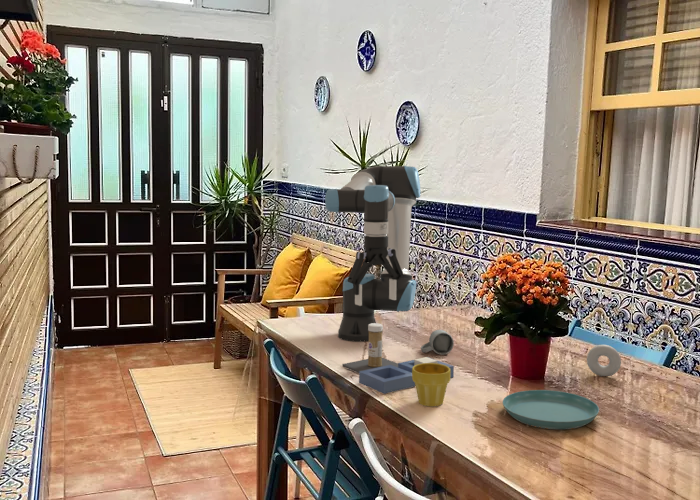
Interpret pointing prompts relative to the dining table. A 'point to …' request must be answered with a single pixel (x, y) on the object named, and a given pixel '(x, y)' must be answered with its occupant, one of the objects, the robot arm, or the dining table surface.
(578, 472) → the dining table surface
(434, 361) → the cream block
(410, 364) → the dish
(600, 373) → the donut
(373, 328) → the sprinkles bottle
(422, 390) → the plant pot
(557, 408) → the saucer
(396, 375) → the dish
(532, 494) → the dining table surface
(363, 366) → the mat
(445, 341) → the ceramic mug
